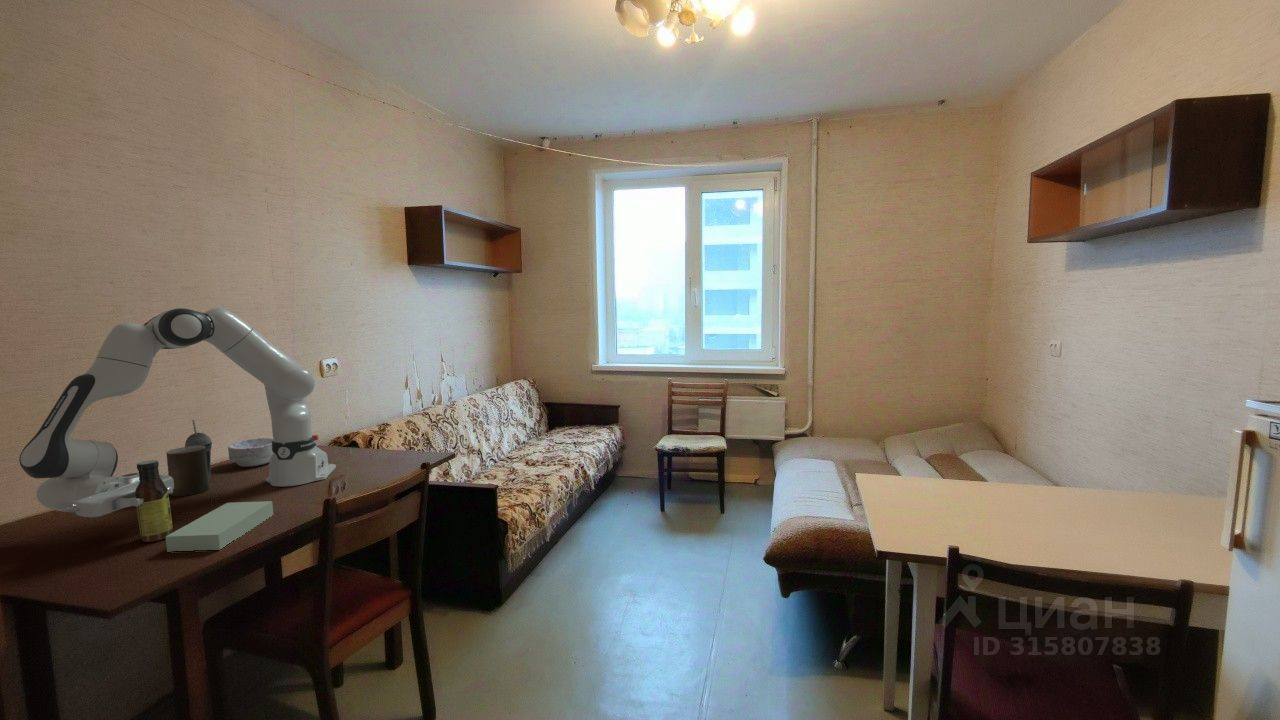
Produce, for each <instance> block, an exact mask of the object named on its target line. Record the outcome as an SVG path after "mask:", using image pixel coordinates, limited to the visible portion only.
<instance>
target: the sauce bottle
mask: <svg viewBox="0 0 1280 720" xmlns="http://www.w3.org/2000/svg"><path fill="white" fill-rule="evenodd" d="M136 469H137V471H138V473H139V480H140V483H139V485H138V486H137V488H136V490H135V495H136V497H143V499H144V500H143V501H144V504H142V505H139V506H135V507H136V514H137V520H138V527H139V534H140V537H141V541H142V542H145V543H153V542H154V541H155V542H159V541H162V540H166V536H168V535H169V534H171V533H173V519H172V511H171V504H170V502H171V501H170V497H169V495H170V494H168V489H167V487H166V486H165V484H164V483H163V481H162V479H161V478H160V475H161V474H160V471H159V461H158V460H157V459H151V460H144V461H140V462H138V463H136Z"/></svg>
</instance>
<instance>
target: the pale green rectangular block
mask: <svg viewBox="0 0 1280 720" xmlns="http://www.w3.org/2000/svg"><path fill="white" fill-rule="evenodd" d="M272 515H273V516H274V506H273V501H271V500H267V501H264V500H263V501H241V502H240V501H239V502H238V501H237V502H226V503H224V504H222V505H221V506H219V507H217V508H215V509H213V510H211V511H210V512H208V513H206V514H204V515H202V516H201V517H200V516H199V518H197V519H195V520H194V521H191V522H190V523H188V524H185V525H184V526H182V527H181V528H179V529H177V530H175V531H172V533H171V534H169V535H168V536H166V538H165V545H166V553H167V552H171V551H193V550H220V549H222V548H223V547H225V546H226V545H227V544H229V543H231V542H232V541H233V540H235V541H237V540H238V539H239V537H240V538H241V537H242V535H243V536H244V535H246V534H247V533H248V531H249V532H250V531H252V530H253V529H255V528H256V527H258V526H259V525H260V523H261V524H262V523H264V522H265V521H267V520H269V519H270V518H272V517H273V516H272ZM269 517H270V518H269ZM266 519H267V520H266ZM263 521H264V522H263ZM257 525H258V526H257ZM254 527H255V528H254ZM251 529H252V530H251ZM246 532H247V533H246ZM245 533H246V534H245ZM237 538H238V539H237ZM236 539H237V540H236ZM232 543H233V542H232ZM232 543H231V544H232ZM229 545H230V544H229ZM226 547H227V546H226ZM226 547H225V548H226ZM223 549H224V548H223ZM223 549H222V550H223ZM220 551H221V550H220ZM171 553H172V552H171Z"/></svg>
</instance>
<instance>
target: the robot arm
mask: <svg viewBox="0 0 1280 720" xmlns="http://www.w3.org/2000/svg"><path fill="white" fill-rule="evenodd" d="M104 339H105V340H104V341H103V343H102V345H101V347H100V348H99V351H98V353H97V355H96V357H95V360H94V362H93V364H92V365H91V366H90V367H89V368H88V370H87V371H86V372H85V373H83V374H82V375H78V376H76V377H75V378H73V379H72V380H71V381H70V382H69V383H68V385H67V386H66V387H65V389H64V390H63V392H62V393H61V395H59V398H58V400H57V401H56V403H54V406H53V407H52V409H51V410H50V412H49V414H48V415H47V417H46V418H45V420H44V422H43V423H42V425H41V427H40V428H39V430H38V431H37V432H36V434H35V435H34V436H33V437H32V438H31V439H30V440H29V442H28V443H27V444H26V445H25V446H24V448H23V449H22V451H21V452H20V455H19V465H20V467H21V469H22V470H23V472H25V474H27V475H28V476H29V477H31V478H33V479H47V480H45V481H43V482H42V483H41V484H40V485H38V487H37V490H36V495H35V496H36V498H37V501H38V503H39V504H41V505H42V506H43V507H45V508H47V509H49V510H53V511H58V512H66V513H75V515H76V516H79V517H84V518H99V517H102V516H105V515H108V514H111V513H113V512H117V511H119V510H122V509H124V508H129V507H136V506H139V505H142V504H144V501H143V500H144V499H143V497H136V495H135V490H136V488H137V486H138V485H139V483H140V480H139V472H134V473H129V474H123V475H117V476H116V475H115V476H114V473H115V472H116V469H117V467H118V461H119V454H118V452H117V449H116V448H115V447H114V445H113V444H111V443H110V442H107V441H97V440H89V439H77V438H76V439H75V438H71V435H72V433H73V431H74V430H75V428H76V427H77V425H78V423H79V421H80V420H81V418H82V416H83V414H84V413H85V411H86V410H87V409H88V407H89V406H91V405H92V404H94V403H95V402H98V401H101V400H104V399H109V398H116V397H121V396H124V395H129V394H131V393H133V392H135V391H137V390H138V389H140V388H142V386H143V384H144V383H145V382H146V381H147V378H148V375H149V372H150V369H151V367H152V364H153V360H154V358H155V357H156V355H157V354H158V352H159V351H160V350H174V349H185V348H187V347H191V346H193V345H196V344H198V343H201V342H202V341H203V342H207V343H209V344H211V345H213V346H214V347H215V348H216V349H217V350H218V351H220V352H221V353H222V354H223V355H225V356H226V357H227V358H228V359H230V360H231V361H232V362H234V363H235V364H236V365H238V367H239V368H241V369H242V370H244V371H245V372H246V373H249V374H250V375H251V376H252V377H254V378H255V379H256V380H258V381H259V382H261V383H262V384H263V386H264V390H265V396H266V400H267V401H266V402H267V406H268V410H269V414H270V421H271V430H272V431H271V432H272V438H273V441H272V445H271V446H272V452H273V455H272V456H271V457H270V462H268V464H269V467H268V468H269V469H268V470H269V476H268V477H266V478H265V482H267V483H269V484H270V485H271V486H273V487H294V486H299V485H305V484H309V483H313V482H317V481H322V480H326V479H327V478H328V477H329V475H330V474H332V472H333V471H334V470H335V469H336V468H337V465H336V464H334V463H329V459H328V454H327V452H326V451H324V450H322V449H321V448H319V447H318V446H317V444H316V443H317V442H316V441H318V440H319V438H320V437H319V434H313V431H312V430H313V428H312V416H311V411H310V409H309V405H308V402H307V399H306V398H307V397H308V396H309V395H311V393H312V392H313V391H314V388H315V378H314V376H313V375H312V374H311V372H310V371H309V370H307V369H306V368H305V367H304V366H303V365H302V364H301V363H298V362H297V361H296V360H295V359H294V358H292V357H290V356H289V355H288V354H286V353H285V352H284V351H282V349H280V348H278V347H277V346H276V345H274V344H273V343H272V342H271V341H270V340H268V339H267V338H266V337H265V336H264V335H262V334H261V333H260V332H259V331H257V330H256V329H255V328H254V327H253V326H252V325H250V323H248V322H247V321H246V320H244V319H243V318H241V317H240V316H238V315H237V314H236V313H233V312H231V311H230V310H228V309H226V308H224V307H215V308H211V309H209V310H207V311H205V312H201V311H198V310H193V309H190V308H181V307H180V308H173V309H168V310H164V311H163V312H160V313H159V314H157V315H156V316H154V317H152V318H150V319H149V320H148V321H146V322H145V323H144V324H140V323H135V322H124V323H118V324H117V325H115V326H113V328H112V329H111V331H110V332H109V333H108V335H107V336H106V337H105V338H104ZM159 475H160V478H161V479H162V481H163V483H164V484H165V486H166V487H167V489H168V495H171V493H173V489H174V480H173V478H172V477H171V476H169V475H163V474H159Z"/></svg>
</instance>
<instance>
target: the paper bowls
mask: <svg viewBox="0 0 1280 720" xmlns="http://www.w3.org/2000/svg"><path fill="white" fill-rule="evenodd" d="M272 441H273V437H256V438H248V439H244V440H239V441H235V442H233V443H230V444H229V445H228V447H227V451H228V452H227V453H228V459H229V461H232V462H236V464H237V465H238V466H240V467H243V468H246V467H247V468H248V467H249V468H250V467H257V466H261V465H266V464H269V462H270V457H271V456H272V455H273V452H272V446H271V445H272Z"/></svg>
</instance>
